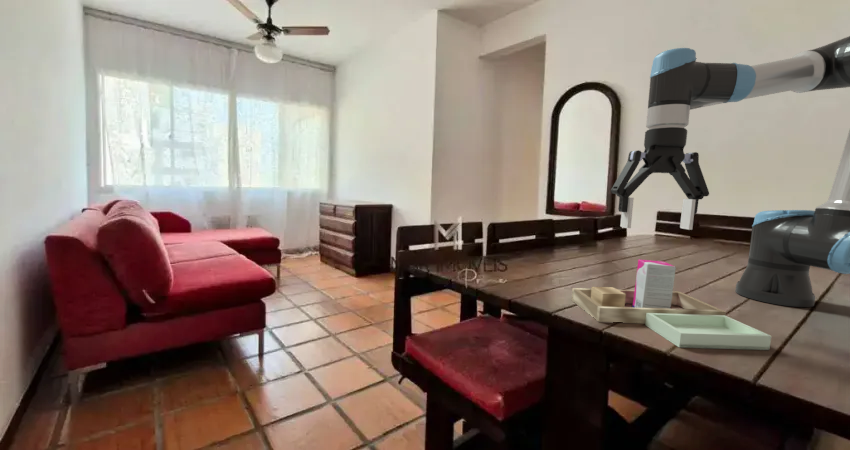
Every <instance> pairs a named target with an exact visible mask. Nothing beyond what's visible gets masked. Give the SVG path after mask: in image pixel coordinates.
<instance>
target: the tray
mask: <svg viewBox="0 0 850 450" xmlns="http://www.w3.org/2000/svg"><path fill="white" fill-rule="evenodd" d="M644 324H645V325H644V326H645V327H647V328H649V329H650V330H651V331H652V332H655V333H656V334H658V335H660V336H661V337H662V338H664V339H665V340H666V341H668V342H670V343H672V344H673V345H675V346H676V347H678V348H685V349H687V348H688V349H719V350H720V349H723V350H753V351H754V350H756V351H757V350H759V351H770V349H771V348H770V347H771V343H772V342H771V341H772V335H770V334H769V333H766V332H763V331H762V330H760V329H757V328H754V327H753V326H750V325H748V324H745V323H743V322H741V321H738V320H736V319H734V318H732V317H731V316H730V317H729V316H727V314H726V315H698V314H666V313H646V322H645V323H644Z"/></svg>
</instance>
